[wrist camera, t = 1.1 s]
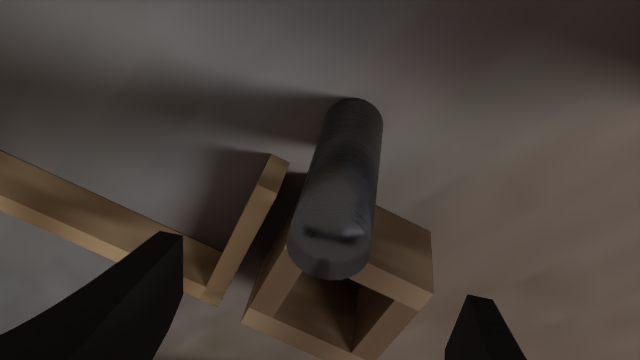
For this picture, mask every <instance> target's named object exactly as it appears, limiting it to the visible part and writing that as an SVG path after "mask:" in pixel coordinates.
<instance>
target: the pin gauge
mask: <svg viewBox="0 0 640 360" xmlns="http://www.w3.org/2000/svg"><path fill="white" fill-rule="evenodd" d="M382 133H383V120H382V117H381V114H380V113H379V111H378V110H377V109H376V107H375V106H373V105H372V104H371V103H369V102H367V101H365V100H362V99H358V98H348V99H344V100H341V101H339V102H337V103H336V104H334V105H333V106H332V107H331V108H330V110H329V111H328V113H327V115H326V118H325V121H324V124H323V127H322V130H321V133H320V136H319V140H318V143H317V146H316V149H315V152H314V155H313V158H312V161H311V164H310V167H309V170H308V173H307V176H306V179H305V183H304V186H303V189H302V192H301V195H300V198H299V201H298V204H297V207H296V210H295V213H294V216H293V219H292V222H291V226H290V229H289V232H288V235H287V239H286V247H287V252H288V254H289V256H290V258H291V260H292V261H293V263H294V264H295V265H296V266H297V267H298V268H299V269H301V270H302V271H304V272H305V273H307V274H309V275H311V276H313V277H316V278H319V279H324V280H342V279H346V278H349V277H352V276H354V275H356V274H357V273H359V272H360V271H361V270H362V269H363V268H364V267H365V266H366V264H367V263H368V261H369V258H370V253H371V243H372V233H373V223H374V213H375V203H376V193H377V183H378V173H379V163H380V153H381V143H382Z"/></svg>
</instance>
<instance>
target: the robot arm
mask: <svg viewBox="0 0 640 360" xmlns="http://www.w3.org/2000/svg"><path fill="white" fill-rule="evenodd" d="M182 296H183V235H179V234H174V233H169V232H164V231H159V232H157V233H155V234H154V235H153V236H151V237H150V238H149V239H148V240H146V241H145V242H144V243H142V244H141V245H140V246H138V247H137V248H136V249H135V250H133V251H132V252H131V253H129V254H128V255H127V256H125V257H124V258H123V259H121V260H120V261H119V262H117V263H116V264H115V265H113V266H112V267H110V268H109V269H108V270H106V271H105V272H104V273H102V274H101V275H99V276H98V277H97V278H95V279H94V280H92V281H91V282H89V283H88V284H87V285H85V286H83V287H82V288H80V289H79V290H77V291H76V292H74V293H73V294H71V295H70V296H68V297H67V298H65V299H64V300H62V301H60V302H59V303H57V304H56V305H54V306H52V307H51V308H49V309H47V310H46V311H44V312H42V313H41V314H39V315H37V316H35V317H34V318H32V319H30V320H28V321H26V322H25V323H23V324H21V325H19V326H17V327H15V328H14V329H12V330H10V331H8V332H6V333H4V334H1V335H0V360H152V359H153V357H154V356H155V354H156V352H157V350H158V348H159V347H160V345H161V343H162V341H163V339H164V337H165V336H166V334H167V332H168V330H169V328H170V326H171V323H172V321H173V318H174V316H175V314H176V311H177V309H178V306H179V304H180V301H181V299H182ZM445 360H527V359H526V357H525V356H524V354H523V352H522V351H521V349H520V347H519V345H518V344H517V342H516V340H515V338H514V337H513V335H512V333H511V331H510V330H509V328H508V326H507V324H506V322H505V321H504V319H503V317H502V315H501V313H500V312H499V310H498V308H497V306H496V305H495V303H494V301H493V300H492V299H487V298H482V297H477V296H473V295H467V297H466V299H465V302H464V304H463V307H462V309H461V312H460V314H459V317H458V319H457V321H456V324H455V326H454V329H453V331H452V334H451V336H450V338H449V341H448V343H447V346H446V348H445Z"/></svg>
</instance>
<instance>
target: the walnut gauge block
mask: <svg viewBox="0 0 640 360" xmlns="http://www.w3.org/2000/svg"><path fill="white" fill-rule="evenodd" d="M299 198H300V197H299ZM298 201H299V199H298V200H297V202H296V204H295V206H294V207H293V209H292V211H291V213H290V214H289V216H288V218H287V220H286V222H285V223H284V225H283V227H282V229H281V230H280V232H279V234H278V236H277V237H276V239H275V241H274V243H273V244H272V246H271V248H270V250H269V252H268V253H267V255H266V257H265V259H264V260H263V262H262V265H261V267H260V270H259V273H258V275H257V278H256V281H255V284H254V286H253V289H252V292H251V295H250V297H249V300H248V303H247V306H246V308H245V311H244V314H243V316H242V319H241V322H240V323H242V324H244V325H246V326H249V327H251V328H253V329H255V330H258V331H260V332H262V333H264V334H267V335H269V336H271V337H273V338H276V339H278V340H280V341H282V342H285V343H287V344H289V345H291V346H294V347H296V348H298V349H300V350H303V351H305V352H307V353H309V354H312V355H314V356H316V357H318V358H321V359H323V360H377V359H378V357H379V356H380V355H381V354H382V353H383V352H384V351H385V349H386V348H387V347H388V346H389V345H390V344H391V343H392V342H393V340H394V339H395V338H396V337H397V336H398V335H399V334H400V332H401V331H402V330H403V329H404V328H405V327H406V326H407V324H408V323H409V322H410V321H411V320H412V319H413V318H414V316H415V315H416V314H417V313H418V312H419V311H420V310H421V309H422V307H423V306H424V305H425V304H426V303H427V302H428V301H429V299H430V298H431V297H432V296H433V295H434V286H433V268H432V250H431V232H429V231H427V230H425V229H423V228H421V227H419V226H417V225H415V224H413V223H411V222H409V221H407V220H405V219H403V218H401V217H399V216H397V215H395V214H393V213H390V212H388V211H386V210H384V209H382V208H380V207H378V206H376V205H375V213H374V223H373V233H372V243H371V253H370V258H369V261H368V263H367V264H366V266H365V267H364V268H363V269H362V270H361V271H360V272H359V273H357V274H356V275H354V276H352V277H349V279H351V280H353V281H355V282H357V283H360V284H362V286H361V287H360V288H359V289H357V288H355V287H353V286H350V285H348V284H346V283H344V282H342V281H340V280H324V279H319V278H316V277H313V276H311V275H309V274H307V273H305V272H304V271H302V270H301V269H299V268H298V267H297V266H296V265H295V264H294V263H293V261H292V260H291V258H290V256H289V254H288V252H287V247H286V239H287V235H288V232H289V229H290V226H291V222H292V219H293V216H294V213H295V210H296V207H297V204H298Z"/></svg>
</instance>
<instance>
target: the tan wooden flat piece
mask: <svg viewBox="0 0 640 360" xmlns="http://www.w3.org/2000/svg"><path fill="white" fill-rule="evenodd" d="M289 164H290V163H288V162H286V161H284V160H282V159H280V158H278V157H276V156H274V155H272V154H271V156H270V158H269V160H268V162H267V164H266V166H265V168H264V170H263V172H262V174H261V176H260V178H259V180H258V182H257V184H256V186H255V188H254V190H253V192H252V194H251V196H250V198H249V200H248V202H247V204H246V206H245V208H244V210H243V212H242V214H241V216H240V218H239V220H238V222H237V224H236V226H235V228H234V230H233V232H232V234H231V236H230V238H229V240H228V242H227V244H226V246H225V248H224V250H223V252H220V251H218V250H216V249H213V248H211V247H209V246H207V245H205V244H202V243H200V242H198V241H196V240H194V239H192V238H189V237H187V236H185V235H183V234H181V233H179V232H176V231H174V230H172V229H170V228H168V227H165V226H163V225H161V224H159V223H157V222H155V221H152V220H150V219H148V218H146V217H144V216H142V215H139V214H137V213H135V212H133V211H131V210H128V209H126V208H124V207H122V206H120V205H118V204H115V203H113V202H111V201H109V200H107V199H105V198H102V197H100V196H98V195H96V194H94V193H91V192H89V191H87V190H85V189H83V188H81V187H78V186H76V185H74V184H72V183H70V182H68V181H65V180H63V179H61V178H59V177H57V176H54V175H52V174H50V173H48V172H46V171H44V170H41V169H39V168H37V167H35V166H33V165H31V164H28V163H26V162H24V161H22V160H20V159H17V158H15V157H13V156H11V155H9V154H7V153H4V152H2V151H0V210H1V211H3V212H6V213H8V214H10V215H12V216H14V217H17V218H19V219H21V220H23V221H26V222H28V223H30V224H32V225H35V226H37V227H39V228H41V229H44V230H46V231H48V232H50V233H53V234H55V235H57V236H59V237H62V238H64V239H66V240H68V241H71V242H73V243H75V244H77V245H80V246H82V247H84V248H86V249H89V250H91V251H93V252H95V253H98V254H100V255H102V256H104V257H106V258H109V259H111V260H113V261H115V262H119V261H120V260H121V259H123V258H124V257H125V256H127V255H128V254H129V253H131V252H132V251H133V250H135V249H136V248H137V247H138V246H140V245H141V244H142V243H144V242H145V241H146V240H148V239H149V238H150V237H151V236H153V235H154V234H155V233H157V232H159V231H164V232H169V233H174V234H179V235H183V292H185V293H187V294H190V295H192V296H194V297H196V298H198V299H201V300H203V301H205V302H207V303H210V304H212V305H214V306H216V307H218V305H219V303H220V301H221V299H222V298H223V296H224V294H225V292H226V290H227V288H228V286H229V284H230V283H231V281H232V279H233V277H234V275H235V273H236V271H237V269H238V268H239V266H240V264H241V262H242V260H243V258H244V256H245V254H246V253H247V251H248V249H249V247H250V245H251V243H252V241H253V239H254V238H255V236H256V234H257V232H258V230H259V228H260V226H261V224H262V223H263V221H264V219H265V217H266V215H267V213H268V211H269V209H270V208H271V206H272V204H273V202H274V200H275V198H276V196H277V194H278V192H279V189H280V187H281V184H282V182H283V179H284V177H285V174H286V172H287V169H288V167H289Z"/></svg>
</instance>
